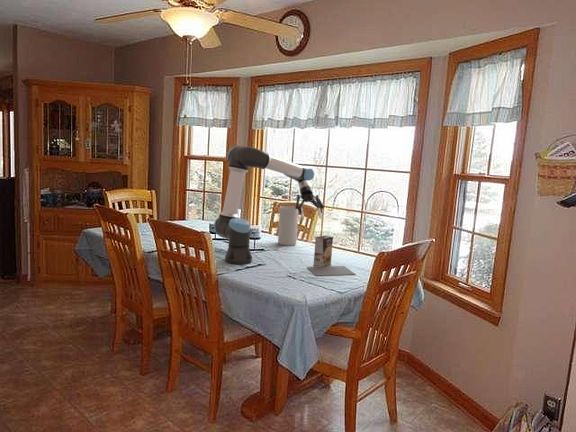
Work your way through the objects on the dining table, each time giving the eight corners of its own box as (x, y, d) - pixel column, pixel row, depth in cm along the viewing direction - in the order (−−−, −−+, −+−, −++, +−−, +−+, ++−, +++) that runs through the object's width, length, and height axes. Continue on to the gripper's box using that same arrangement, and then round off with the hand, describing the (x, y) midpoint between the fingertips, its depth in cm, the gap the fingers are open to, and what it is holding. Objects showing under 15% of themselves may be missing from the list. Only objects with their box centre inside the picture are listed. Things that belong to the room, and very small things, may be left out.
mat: (316, 276, 228) (316, 275, 228) (306, 267, 243) (306, 266, 243) (355, 274, 234) (355, 274, 234) (343, 266, 249) (343, 265, 249)
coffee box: (323, 267, 246) (324, 239, 243) (313, 265, 249) (314, 237, 247) (331, 264, 253) (333, 236, 251) (321, 262, 257) (323, 235, 254)
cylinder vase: (297, 242, 306) (299, 206, 302) (294, 246, 294) (296, 209, 290) (279, 241, 308) (281, 205, 304) (276, 244, 296) (278, 207, 292)
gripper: (321, 193, 288) (328, 221, 275) (286, 192, 282) (292, 221, 269) (324, 186, 282) (331, 214, 269) (289, 185, 276) (295, 213, 263)
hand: (312, 217), depth 269 cm, fingers open, 11 cm apart
